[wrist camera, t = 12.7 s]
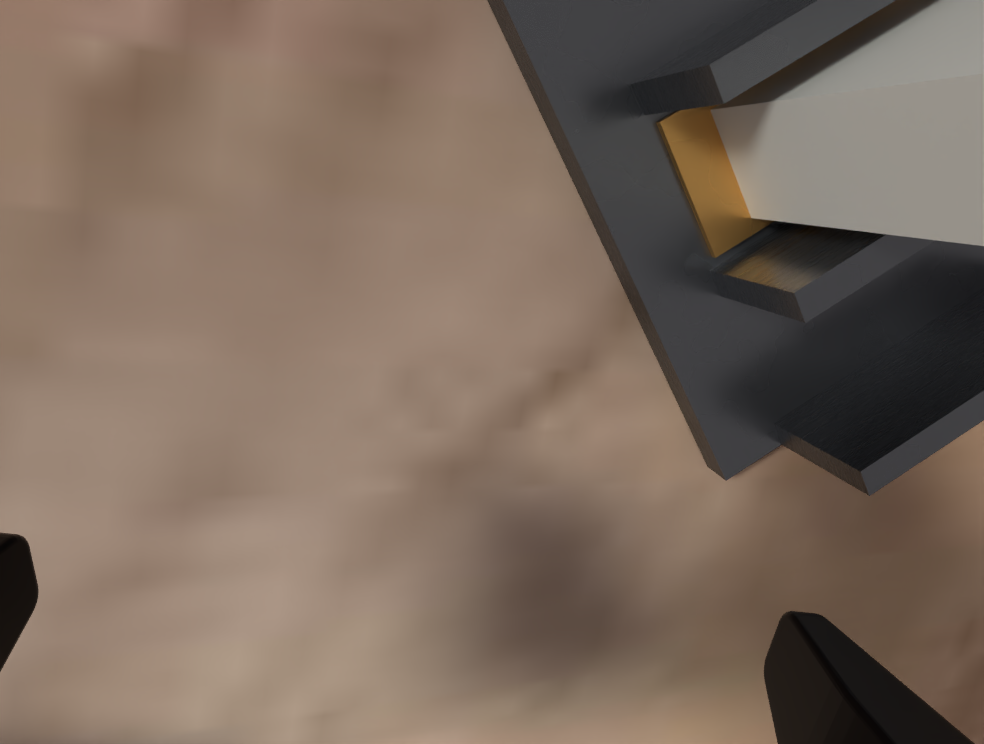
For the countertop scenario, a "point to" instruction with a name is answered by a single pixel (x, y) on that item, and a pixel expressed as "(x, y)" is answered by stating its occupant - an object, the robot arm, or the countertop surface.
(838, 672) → the robot arm
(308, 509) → the countertop surface
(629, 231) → the panel rack
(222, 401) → the countertop surface
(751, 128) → the panel
